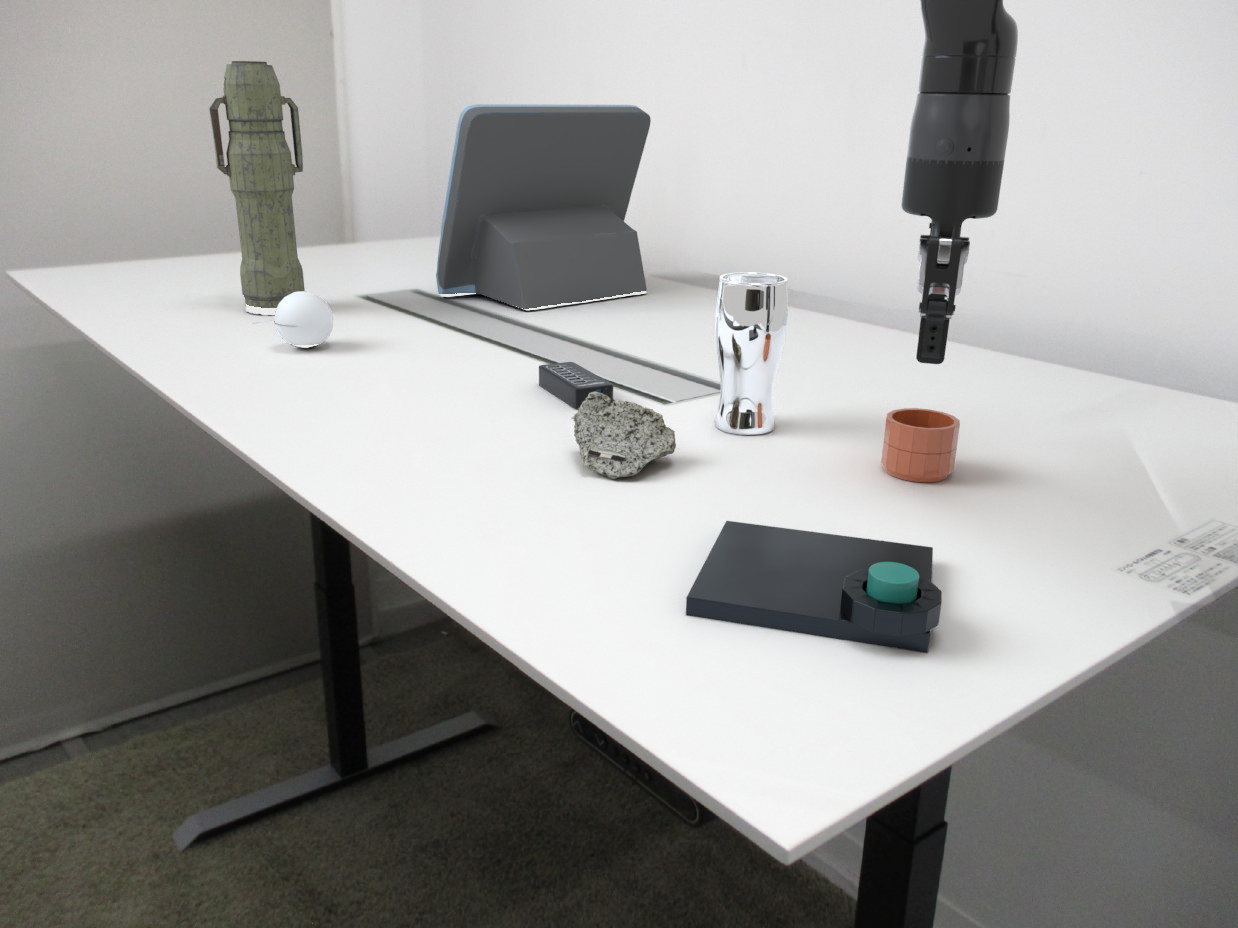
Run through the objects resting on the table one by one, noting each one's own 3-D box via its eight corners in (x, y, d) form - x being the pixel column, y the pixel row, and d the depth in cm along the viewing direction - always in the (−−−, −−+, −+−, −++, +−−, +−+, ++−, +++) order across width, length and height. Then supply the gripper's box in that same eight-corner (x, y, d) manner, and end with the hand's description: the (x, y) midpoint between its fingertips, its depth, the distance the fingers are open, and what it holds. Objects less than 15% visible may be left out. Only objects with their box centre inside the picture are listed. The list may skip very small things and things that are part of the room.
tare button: (917, 587, 63) (919, 565, 63) (915, 609, 61) (918, 586, 60) (868, 580, 64) (870, 558, 64) (864, 601, 61) (867, 578, 61)
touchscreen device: (599, 274, 185) (603, 101, 174) (670, 294, 171) (680, 108, 160) (431, 296, 164) (424, 100, 153) (497, 320, 150) (495, 107, 139)
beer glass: (783, 437, 99) (795, 285, 94) (712, 436, 99) (720, 283, 94) (774, 416, 105) (785, 272, 100) (708, 415, 105) (715, 271, 100)
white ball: (333, 339, 135) (328, 285, 133) (338, 352, 129) (333, 295, 126) (254, 344, 132) (248, 288, 129) (256, 358, 125) (249, 299, 123)
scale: (937, 565, 72) (942, 527, 71) (935, 663, 60) (941, 618, 59) (725, 537, 76) (727, 500, 75) (681, 623, 64) (683, 580, 63)
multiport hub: (572, 380, 118) (572, 361, 117) (614, 405, 108) (614, 384, 108) (537, 384, 116) (537, 365, 115) (577, 410, 106) (577, 389, 106)
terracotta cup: (952, 464, 92) (959, 412, 91) (952, 487, 87) (960, 432, 85) (882, 456, 94) (888, 405, 92) (878, 479, 88) (884, 425, 87)
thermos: (228, 308, 153) (197, 61, 141) (306, 301, 159) (283, 63, 147) (241, 319, 146) (210, 60, 134) (322, 311, 152) (299, 62, 140)
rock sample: (555, 442, 84) (598, 360, 88) (542, 472, 92) (582, 395, 95) (665, 498, 85) (703, 414, 88) (643, 523, 92) (680, 445, 95)
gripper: (1010, 161, 73) (978, 376, 79) (1000, 151, 86) (974, 336, 92) (904, 157, 75) (880, 367, 81) (910, 148, 88) (889, 330, 94)
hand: (930, 350), depth 87 cm, fingers open, 8 cm apart
